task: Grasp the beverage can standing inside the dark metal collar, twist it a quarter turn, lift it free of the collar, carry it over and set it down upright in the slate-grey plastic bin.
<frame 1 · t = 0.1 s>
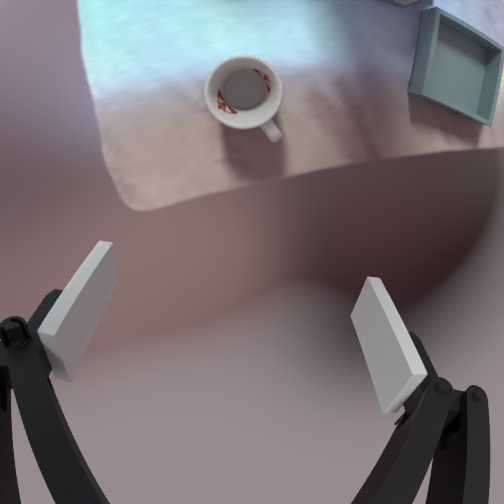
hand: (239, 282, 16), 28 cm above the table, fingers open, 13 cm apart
cup: (251, 98, 37), on the table
bin: (452, 66, 33), on the table
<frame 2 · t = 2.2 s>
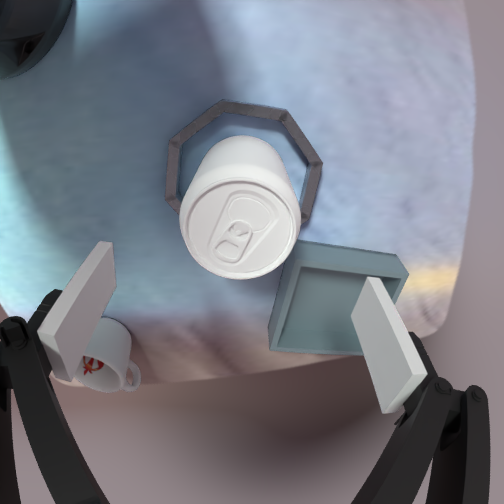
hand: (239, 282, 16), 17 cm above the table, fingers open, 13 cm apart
collar: (242, 175, 30), on the table
beverage can: (242, 174, 31), resting in collar
cup: (119, 336, 42), on the table
bin: (330, 293, 38), on the table
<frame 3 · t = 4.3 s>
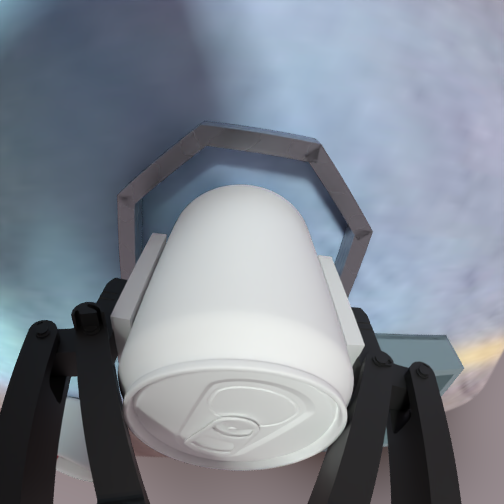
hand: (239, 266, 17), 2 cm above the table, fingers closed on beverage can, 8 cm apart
collar: (240, 245, 19), on the table
beverage can: (240, 243, 19), resting in collar, touching gripper
cup: (93, 414, 31), on the table
bin: (358, 383, 27), on the table
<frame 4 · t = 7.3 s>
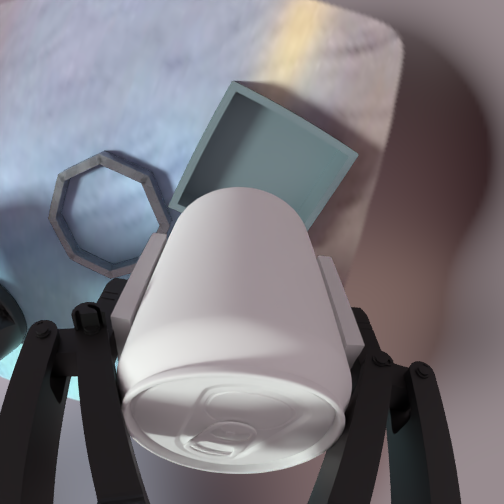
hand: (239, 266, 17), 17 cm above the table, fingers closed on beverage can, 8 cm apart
collar: (108, 215, 34), on the table
beverage can: (239, 246, 19), point 15 cm above the table, touching gripper
bin: (260, 166, 32), on the table
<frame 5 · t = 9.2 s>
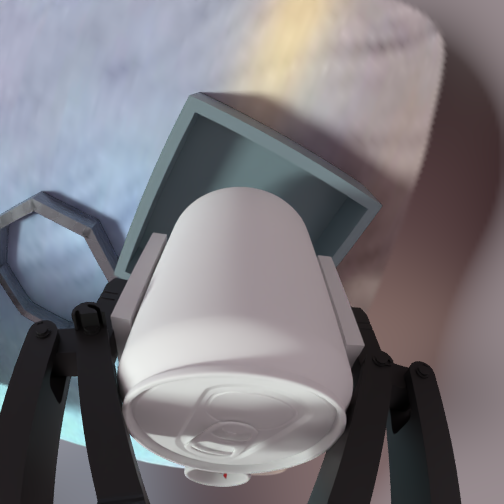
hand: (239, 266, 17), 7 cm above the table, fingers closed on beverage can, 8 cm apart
collar: (55, 269, 25), on the table
beverage can: (240, 246, 19), point 4 cm above the table, touching gripper
cup: (230, 423, 38), on the table
bin: (240, 214, 23), on the table
when the fingers open (5 cm above the table, at t = 10.5 s): beverage can drops 2 cm, resting on bin.
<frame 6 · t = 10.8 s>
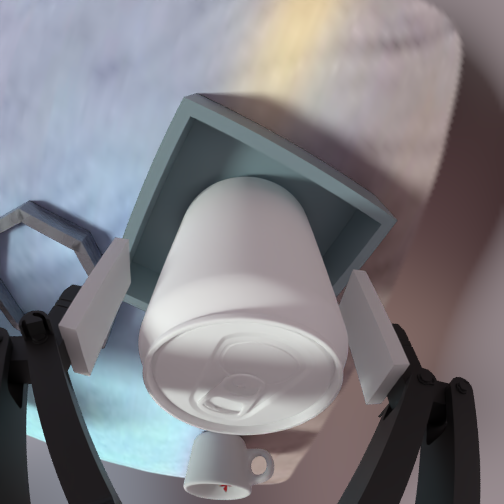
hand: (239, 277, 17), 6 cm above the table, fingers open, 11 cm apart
collar: (46, 282, 24), on the table
beverage can: (245, 232, 21), resting on bin
cup: (230, 435, 36), on the table
bin: (241, 227, 21), on the table
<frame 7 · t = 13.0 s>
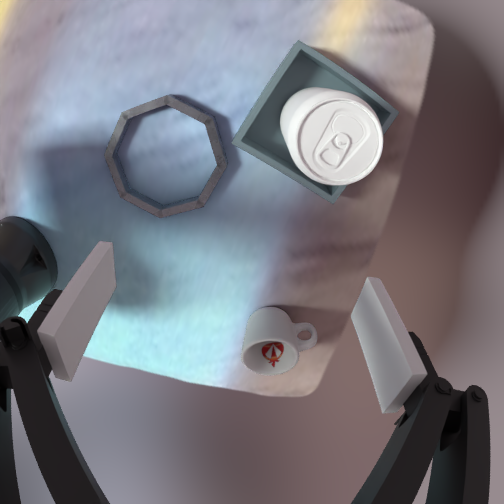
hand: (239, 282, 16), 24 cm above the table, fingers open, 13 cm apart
collar: (165, 156, 37), on the table
beverage can: (315, 121, 34), resting on bin
cup: (278, 317, 49), on the table
bin: (312, 119, 34), on the table
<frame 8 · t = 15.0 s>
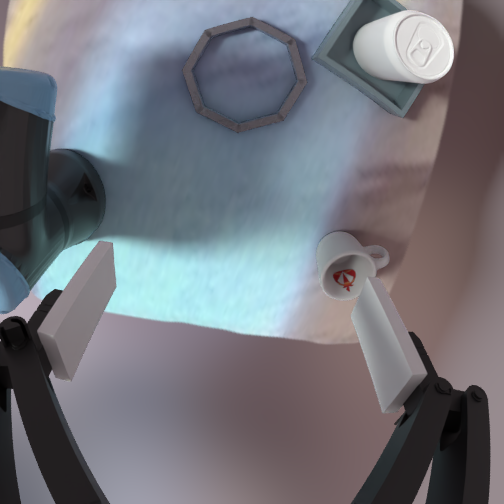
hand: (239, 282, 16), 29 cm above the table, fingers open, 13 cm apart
collar: (244, 74, 36), on the table
beverage can: (379, 50, 33), resting on bin
cup: (344, 245, 48), on the table
bin: (376, 49, 33), on the table
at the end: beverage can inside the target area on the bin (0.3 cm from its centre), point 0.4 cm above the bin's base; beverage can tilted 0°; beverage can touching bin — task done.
